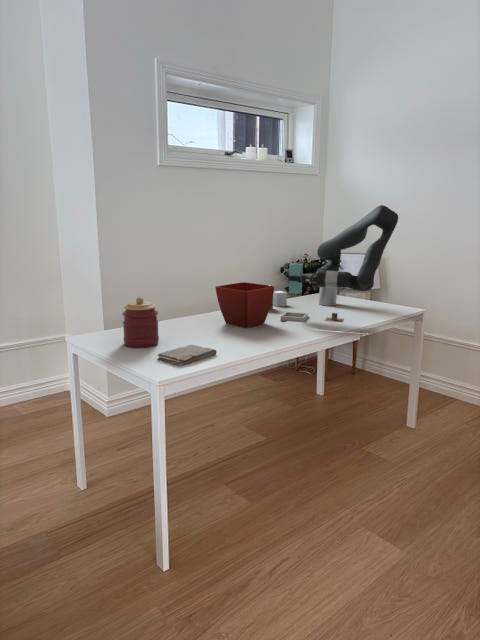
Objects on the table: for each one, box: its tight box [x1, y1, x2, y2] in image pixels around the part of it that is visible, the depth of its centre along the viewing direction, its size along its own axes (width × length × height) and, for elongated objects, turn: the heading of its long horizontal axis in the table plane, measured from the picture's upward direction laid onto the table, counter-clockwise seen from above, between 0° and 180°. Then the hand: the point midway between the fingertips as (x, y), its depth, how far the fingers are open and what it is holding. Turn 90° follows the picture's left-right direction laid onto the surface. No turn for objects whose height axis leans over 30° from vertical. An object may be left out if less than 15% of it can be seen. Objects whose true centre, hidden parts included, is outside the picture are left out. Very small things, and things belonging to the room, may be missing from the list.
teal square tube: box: [288, 263, 304, 295], centre depth 217 cm, size 5×5×13 cm
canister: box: [121, 296, 160, 349], centre depth 177 cm, size 13×13×18 cm
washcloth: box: [157, 344, 217, 367], centre depth 162 cm, size 12×18×3 cm, turn 142°
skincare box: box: [273, 290, 288, 308], centre depth 254 cm, size 6×6×7 cm
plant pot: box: [214, 281, 275, 328], centre depth 211 cm, size 19×19×17 cm
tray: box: [280, 311, 309, 323], centre depth 221 cm, size 11×11×2 cm
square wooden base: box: [324, 312, 345, 323], centre depth 218 cm, size 8×8×4 cm
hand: (290, 277), depth 218 cm, fingers closed on teal square tube, 5 cm apart
